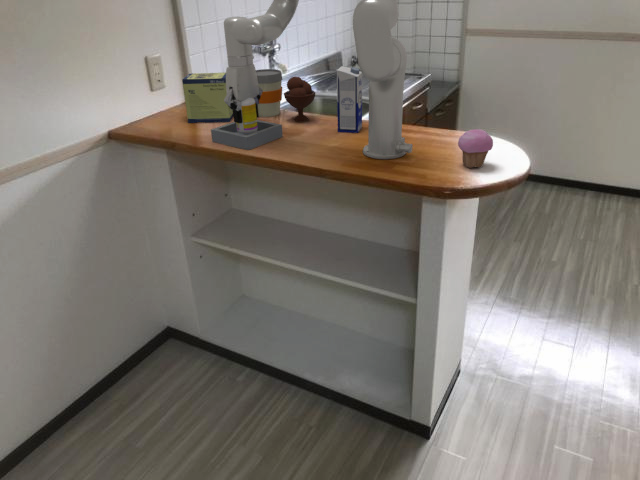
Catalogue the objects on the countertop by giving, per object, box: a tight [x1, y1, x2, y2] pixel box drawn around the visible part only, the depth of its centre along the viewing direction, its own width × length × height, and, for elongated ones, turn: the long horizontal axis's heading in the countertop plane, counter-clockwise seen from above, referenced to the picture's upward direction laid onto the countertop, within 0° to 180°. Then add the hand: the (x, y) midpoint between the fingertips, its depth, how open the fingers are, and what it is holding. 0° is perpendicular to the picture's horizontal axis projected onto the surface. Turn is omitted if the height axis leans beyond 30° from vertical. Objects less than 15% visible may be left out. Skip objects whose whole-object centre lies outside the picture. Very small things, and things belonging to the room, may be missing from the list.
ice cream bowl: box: [283, 76, 317, 123], centre depth 189 cm, size 11×11×15 cm
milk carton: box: [336, 65, 363, 134], centre depth 175 cm, size 7×7×20 cm
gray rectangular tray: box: [210, 119, 284, 151], centre depth 173 cm, size 16×16×4 cm
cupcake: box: [457, 128, 494, 169], centre depth 144 cm, size 9×9×10 cm
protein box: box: [181, 71, 234, 124], centre depth 194 cm, size 10×16×16 cm
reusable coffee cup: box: [256, 68, 283, 118], centre depth 198 cm, size 13×13×15 cm
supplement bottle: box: [235, 94, 258, 133], centre depth 170 cm, size 7×7×13 cm
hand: (246, 119), depth 171 cm, fingers closed on supplement bottle, 6 cm apart
